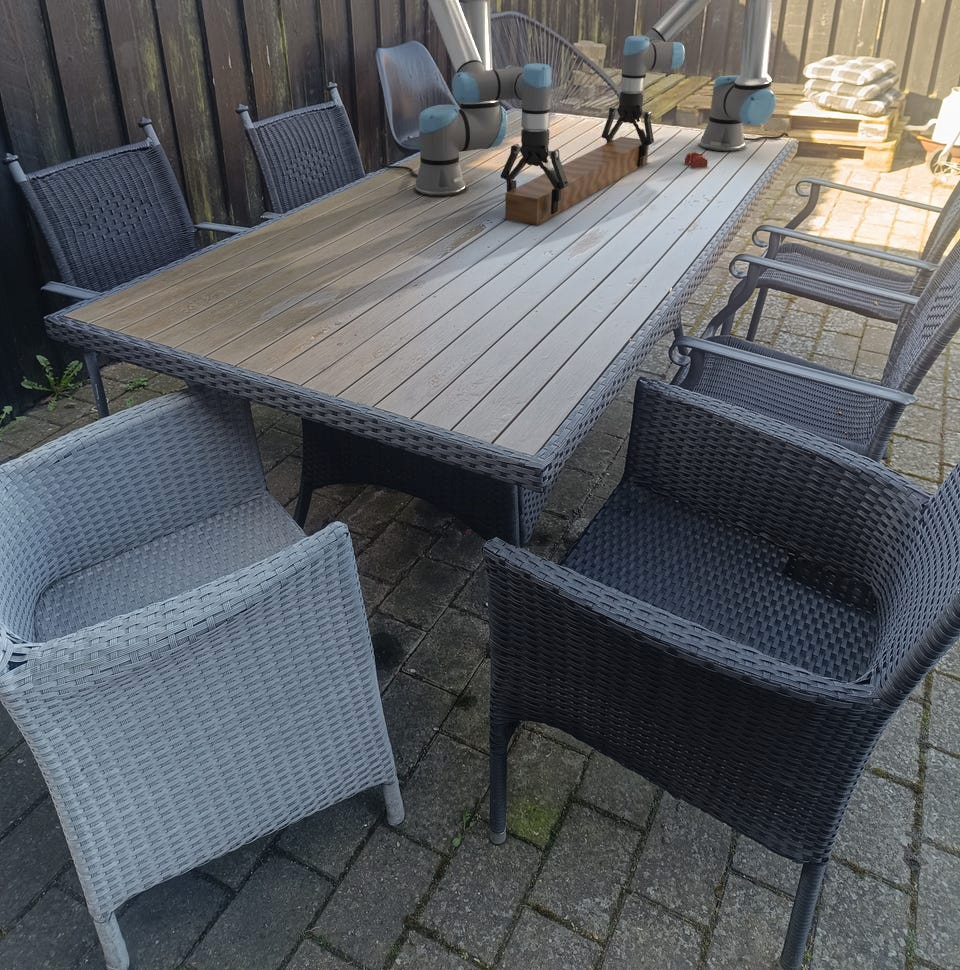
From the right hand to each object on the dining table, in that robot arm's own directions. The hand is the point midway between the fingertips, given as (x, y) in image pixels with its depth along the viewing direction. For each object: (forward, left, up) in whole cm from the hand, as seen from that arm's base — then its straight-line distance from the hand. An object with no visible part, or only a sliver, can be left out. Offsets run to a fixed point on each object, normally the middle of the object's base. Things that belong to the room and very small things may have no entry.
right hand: (624, 163), depth 280 cm
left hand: (+57, +26, +1) cm, 62 cm away
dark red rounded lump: (-19, +13, -1) cm, 23 cm away
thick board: (+28, +13, -1) cm, 31 cm away
